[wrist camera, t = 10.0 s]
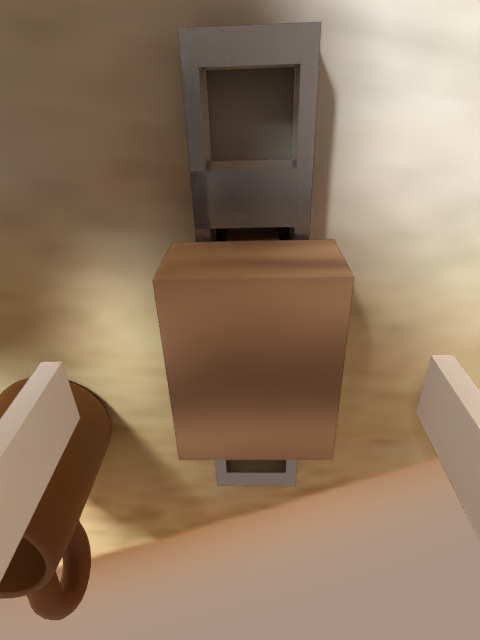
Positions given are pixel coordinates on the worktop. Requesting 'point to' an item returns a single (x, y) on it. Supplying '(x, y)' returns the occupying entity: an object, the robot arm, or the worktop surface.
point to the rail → (251, 163)
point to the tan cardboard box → (254, 345)
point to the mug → (60, 516)
